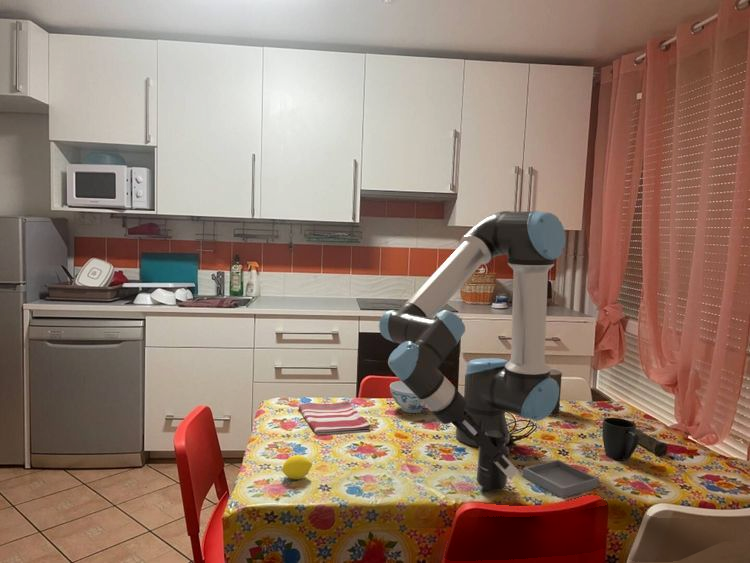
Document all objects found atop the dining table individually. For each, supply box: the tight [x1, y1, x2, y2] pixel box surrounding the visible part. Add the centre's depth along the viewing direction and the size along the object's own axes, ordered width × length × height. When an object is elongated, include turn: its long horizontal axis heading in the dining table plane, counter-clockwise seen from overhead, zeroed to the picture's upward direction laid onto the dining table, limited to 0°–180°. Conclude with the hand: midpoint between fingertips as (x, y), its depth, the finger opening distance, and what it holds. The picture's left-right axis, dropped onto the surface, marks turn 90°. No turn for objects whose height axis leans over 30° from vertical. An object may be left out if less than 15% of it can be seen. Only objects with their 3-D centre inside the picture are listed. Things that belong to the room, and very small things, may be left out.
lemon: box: [281, 454, 313, 480], centre depth 132 cm, size 7×5×5 cm
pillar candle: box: [549, 368, 563, 416], centre depth 193 cm, size 10×10×15 cm
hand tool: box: [636, 427, 669, 457], centre depth 166 cm, size 19×4×5 cm, turn 9°
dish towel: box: [298, 400, 371, 436], centre depth 174 cm, size 17×23×3 cm
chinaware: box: [389, 380, 427, 414], centre depth 187 cm, size 15×15×8 cm
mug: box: [601, 417, 639, 461], centre depth 153 cm, size 8×12×10 cm
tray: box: [521, 459, 599, 498], centre depth 137 cm, size 12×12×2 cm
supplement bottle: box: [476, 430, 510, 491], centre depth 130 cm, size 7×7×12 cm
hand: (507, 467), depth 131 cm, fingers closed on supplement bottle, 7 cm apart
